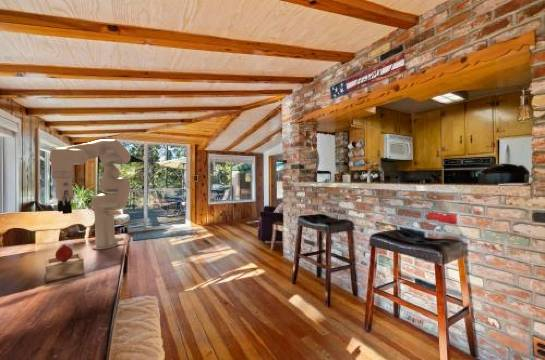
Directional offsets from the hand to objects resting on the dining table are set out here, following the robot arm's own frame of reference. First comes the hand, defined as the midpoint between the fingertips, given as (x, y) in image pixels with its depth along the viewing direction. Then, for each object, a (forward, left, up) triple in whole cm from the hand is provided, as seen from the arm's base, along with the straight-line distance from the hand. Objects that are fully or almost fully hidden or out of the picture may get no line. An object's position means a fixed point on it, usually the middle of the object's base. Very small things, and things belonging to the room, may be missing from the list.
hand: (64, 212), depth 114 cm
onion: (+2, +9, -21) cm, 23 cm away
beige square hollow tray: (+2, +9, -26) cm, 28 cm away
